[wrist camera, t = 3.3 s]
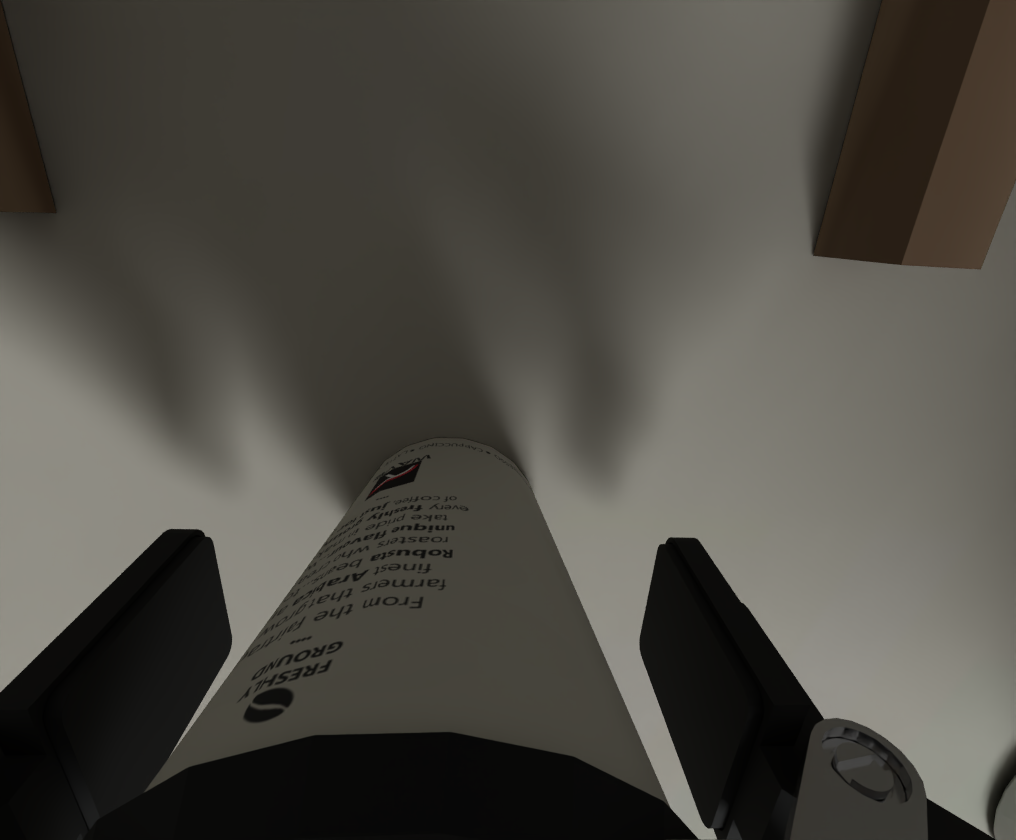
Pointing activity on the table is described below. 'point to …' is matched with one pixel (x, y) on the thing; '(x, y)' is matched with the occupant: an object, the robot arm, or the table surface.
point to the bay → (866, 150)
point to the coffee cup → (417, 687)
